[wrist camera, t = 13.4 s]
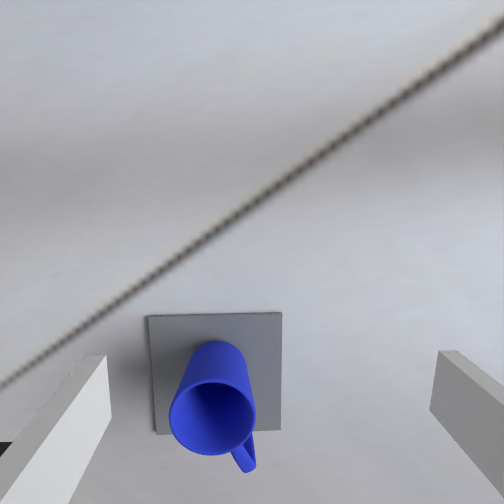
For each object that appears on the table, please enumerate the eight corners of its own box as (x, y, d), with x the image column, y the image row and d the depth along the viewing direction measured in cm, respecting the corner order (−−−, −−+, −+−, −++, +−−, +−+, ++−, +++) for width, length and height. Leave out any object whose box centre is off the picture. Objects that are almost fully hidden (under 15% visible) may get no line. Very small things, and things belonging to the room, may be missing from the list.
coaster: (149, 315, 40) (148, 317, 39) (281, 312, 40) (282, 314, 40) (157, 431, 43) (156, 434, 42) (279, 426, 43) (280, 429, 43)
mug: (219, 426, 42) (214, 498, 33) (172, 350, 40) (151, 404, 30) (276, 398, 42) (288, 463, 32) (232, 320, 40) (230, 364, 30)
